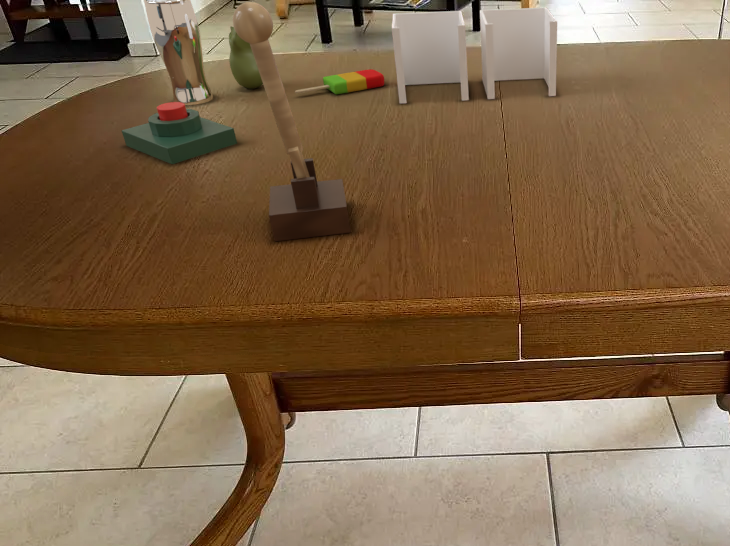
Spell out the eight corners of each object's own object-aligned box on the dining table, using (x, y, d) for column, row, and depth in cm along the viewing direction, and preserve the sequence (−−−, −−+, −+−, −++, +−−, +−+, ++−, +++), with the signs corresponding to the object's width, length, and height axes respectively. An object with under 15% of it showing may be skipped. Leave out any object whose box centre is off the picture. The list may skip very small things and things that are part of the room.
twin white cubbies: (545, 77, 128) (546, 7, 121) (555, 95, 119) (557, 21, 112) (400, 84, 126) (393, 13, 119) (399, 103, 117) (391, 28, 110)
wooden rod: (225, 10, 67) (265, 2, 67) (228, 2, 70) (266, -5, 70) (289, 194, 78) (323, 187, 79) (289, 182, 81) (321, 174, 81)
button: (155, 119, 101) (151, 106, 100) (179, 113, 103) (175, 100, 102) (169, 124, 99) (165, 111, 98) (193, 117, 101) (189, 104, 100)
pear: (259, 81, 129) (246, 18, 123) (275, 87, 126) (263, 23, 120) (230, 88, 126) (215, 24, 120) (246, 94, 123) (231, 29, 117)
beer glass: (194, 92, 124) (167, -8, 115) (225, 96, 122) (200, -5, 113) (162, 103, 119) (131, 0, 110) (194, 108, 117) (165, 3, 108)
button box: (126, 146, 104) (116, 117, 101) (190, 127, 110) (182, 99, 107) (172, 164, 97) (163, 134, 95) (237, 143, 103) (230, 114, 101)
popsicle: (387, 86, 125) (386, 74, 124) (301, 101, 119) (299, 89, 118) (374, 79, 129) (373, 67, 128) (290, 93, 123) (288, 81, 122)
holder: (274, 241, 79) (262, 187, 75) (275, 211, 85) (264, 160, 81) (350, 232, 80) (342, 179, 76) (346, 203, 86) (338, 152, 83)
